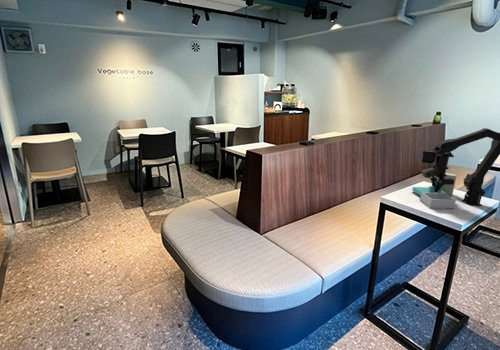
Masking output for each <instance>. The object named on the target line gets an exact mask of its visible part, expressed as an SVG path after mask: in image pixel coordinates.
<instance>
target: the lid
mask: <svg viewBox="0 0 500 350" xmlns="http://www.w3.org/2000/svg"><path fill="white" fill-rule="evenodd" d="M411 190H412V191H411V192H415V193H417V194H419V195H420V196H421V192H424V193H445V192H444V191H442V187H441V188H440V189H439V191H438V192H435V186H432V185H429V186H427V187H426V186H423V187H421V186H412V189H411ZM445 194H446V195H448V194H447V193H445Z"/></svg>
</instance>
